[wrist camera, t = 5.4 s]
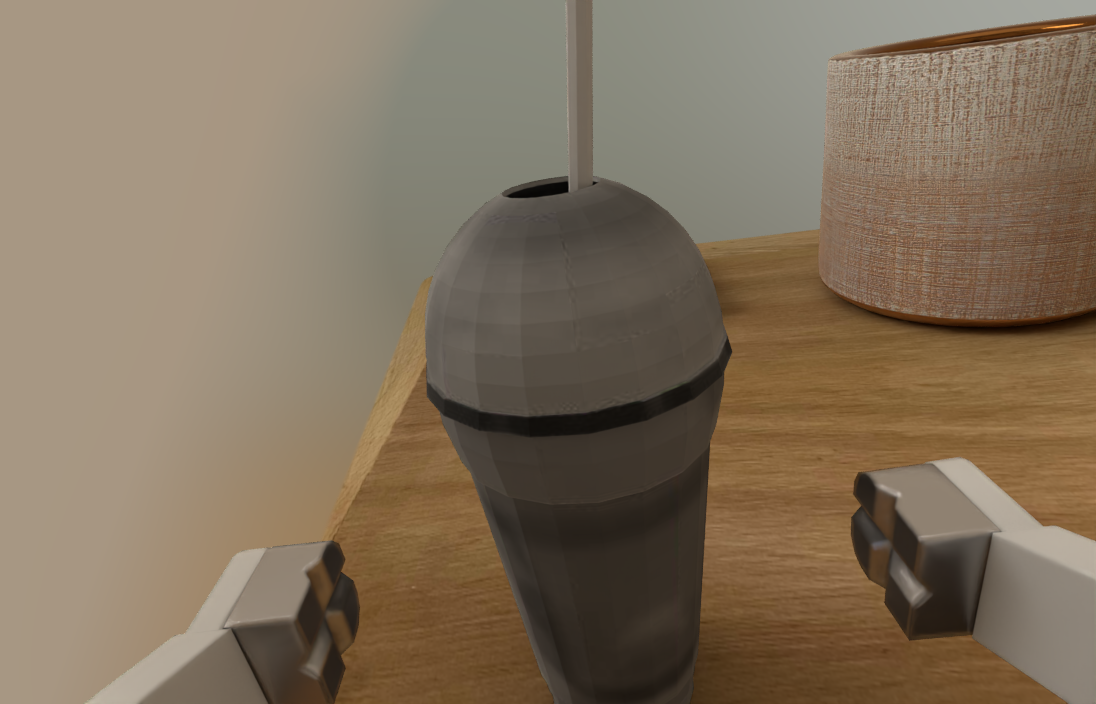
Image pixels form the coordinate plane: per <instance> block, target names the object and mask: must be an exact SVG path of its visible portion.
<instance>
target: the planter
mask: <svg viewBox="0 0 1096 704" xmlns="http://www.w3.org/2000/svg"><path fill="white" fill-rule="evenodd" d="M824 146H825V147H824V166H823V167H824V168H823V183H822V202H821V220H820V239H819V272H820V277H821V280H822V281H823V283H824V284H825V285H826V286H827V287H828V288H829V289H830V290H831V291H832V292H833V293H835V294H836V295H838V296H839V297H841V298H842V299H844V300H846V301H848V302H850V303H852V304H854V305H856V306H858V307H861V308H863V309H865V310H868V311H871V312H875V313H878V314H882V315H886V316H889V317H893V318H898V319H902V320H907V321H913V322H920V323H928V324H936V325H945V326H960V327H1010V326H1022V325H1033V324H1042V323H1048V322H1054V321H1058V320H1063V319H1067V318H1071V317H1075V316H1079V315H1082V314H1085V313H1088V312H1091V311H1094V310H1096V14H1095V15H1087V16H1079V17H1070V18H1062V19H1054V20H1046V21H1039V22H1031V23H1024V24H1016V25H1009V26H1002V27H995V28H987V29H981V30H973V31H966V32H960V33H953V34H946V35H940V36H933V37H927V38H921V39H914V40H908V41H902V42H897V43H890V44H885V45H879V46H874V47H868V48H863V49H858V50H854V51H849V52H845V53H841V54H838V55H835V56H833V57H831V58H830V59H829V61H828V76H827V101H826V124H825V145H824Z"/></svg>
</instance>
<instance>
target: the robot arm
mask: <svg viewBox="0 0 1096 704" xmlns="http://www.w3.org/2000/svg"><path fill="white" fill-rule="evenodd" d="M853 495H854V496H855V497H856V499H857V500H858V501H859V503H860V504H861V505H862V506H861V507H860V508H859V509H858V510H857V512H856V513H855V514H854V515H853V516H852V517H851V538H852V542H853V547H854V551H855V554H856V557H857V559H858V561H859V564H860V566H861V568H862V569H863V571H864V572H865V574H866V576H867V577H868V579H869V580H871V581H873V582H874V583H876V584H878V585H880V586H881V587H883V588H885V589H886V592H885V602H884V603H885V605H886V606H887V608H888V609H889V611H890V612H891V614H892V615H893V617H894V618H895V620H896V621H897V623H898V624H899V626H900V627H901V629H902V630H903V632H904V633H905V635H906V636H907V638H908V639H909V641H910V640H921V639H932V638H943V637H954V636H966V635H972V638H973V639H974V640H976V641H977V642H979V643H980V644H982V645H983V646H985V647H986V648H988V649H989V650H991V651H992V652H994V653H995V654H996V655H998V656H999V657H1001V658H1002V659H1004V660H1005V661H1007V662H1008V663H1010V664H1011V665H1013V666H1014V667H1016V668H1017V669H1019V670H1020V671H1022V672H1023V673H1025V674H1026V675H1027V676H1029V677H1030V678H1032V679H1033V680H1035V681H1036V682H1038V683H1039V684H1041V685H1042V686H1044V687H1045V688H1047V689H1048V690H1050V691H1051V692H1053V693H1054V694H1056V695H1057V696H1059V697H1060V698H1061V699H1063V700H1064V701H1066V702H1067V703H1069V704H1096V541H1094V540H1091V539H1089V538H1086V537H1083V536H1081V535H1078V534H1076V533H1073V532H1070V531H1068V530H1065V529H1063V528H1060V527H1057V526H1048V527H1043V526H1042V525H1041V524H1040V523H1039V522H1038V521H1037V520H1036V519H1034V518H1033V517H1032V516H1031V515H1030V514H1029V513H1028V512H1027V511H1025V510H1024V509H1023V508H1022V507H1021V506H1020V505H1019V504H1018V503H1016V502H1015V501H1014V500H1013V499H1012V498H1011V497H1010V496H1009V495H1007V494H1006V493H1005V492H1004V491H1003V490H1002V489H1001V488H1000V487H998V486H997V485H996V484H995V483H994V482H993V481H992V480H991V479H989V478H988V477H987V476H986V475H985V474H984V473H983V472H982V471H980V470H979V469H978V468H977V467H976V466H975V465H974V464H973V463H971V462H970V461H969V460H966V459H964V458H961V457H957V458H950V459H944V460H937V461H931V462H926V463H925V464H916V465H909V466H902V467H894V468H887V469H879V470H872V471H865V472H858V474H857V476H856V478H855V481H854V491H853ZM344 562H345V557H344V555H343V552H342V550H341V547H340V545H339V543H337V542H334V541H322V542H313V543H304V544H294V545H285V546H275V547H272V548H261V549H253V550H244V551H241V552H239V553H238V554H236V555H234V557H233V558H232V559H231V561H230V563H229V564H228V566H227V567H226V569H225V571H224V572H223V574H222V575H221V577H220V579H219V580H218V582H217V583H216V585H215V587H214V588H213V590H212V591H211V593H210V595H209V596H208V598H207V599H206V601H205V603H204V604H203V606H202V607H201V609H200V610H199V612H198V614H197V615H196V617H195V619H194V620H193V622H192V623H191V625H190V626H189V628H188V630H187V631H186V633H185V634H181V635H175V636H173V637H172V638H171V639H169V640H168V641H167V642H165V643H164V644H163V645H161V646H160V647H159V648H157V649H156V650H155V651H153V652H152V653H151V654H149V655H148V656H147V657H145V658H144V659H143V660H141V661H140V662H138V663H137V664H136V665H134V666H133V667H132V668H131V669H129V670H128V671H126V672H125V673H124V674H122V675H121V676H120V677H119V678H117V679H116V680H114V681H113V682H112V683H110V684H109V685H108V686H107V687H105V688H104V689H103V690H101V691H100V692H98V693H97V694H96V695H94V696H93V697H92V698H91V699H89V700H88V701H86V702H85V703H84V704H334V703H335V700H336V696H337V693H338V690H339V687H340V684H341V681H342V678H343V675H344V672H345V669H346V668H345V665H344V663H343V660H342V658H341V655H342V654H343V653H344V652H345V651H346V650H347V649H348V648H349V647H350V646H351V645H352V644H353V643H354V640H355V636H356V633H357V630H358V626H359V611H360V605H359V599H358V592H357V590H356V587H355V584H354V581H353V580H352V579H350V578H349V577H347V576H346V575H345V574H343V573H342V572H341V570H342V567H343V565H344Z"/></svg>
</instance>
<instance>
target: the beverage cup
mask: <svg viewBox="0 0 1096 704" xmlns="http://www.w3.org/2000/svg"><path fill="white" fill-rule="evenodd" d="M566 50H567V113H568V176H564V177H557V178H549V179H543V180H538V181H533V182H529V183H525V184H521V185H518V186H515V187H512V188H510V189H507V190H505V191H504V192H502V193H500V194H499V195H497V196H496V197H494V198H493V199H491V200H490V201H488V202H486V203H485V204H484V205H483V206H482V207H481V208H480V209H479V210H478V211H477V212H476V213H474V214H473V215H472V216H471V217H470V218H469V219H468V220H467V221H466V222H465V223H464V224H463V226H461V228H460V229H459V231H458V232H457V233H456V235H455V236H454V237H453V239H452V240H451V241H450V243H449V244H448V245H447V247H446V249H445V251H444V253H443V255H442V257H441V259H440V261H439V263H438V265H437V267H436V269H435V273H434V275H433V279H432V282H431V285H430V288H429V292H428V299H427V305H426V312H425V339H426V359H427V371H426V378H427V397H428V399H429V400H430V401H431V402H432V403H433V404H434V405H435V407H436V408H437V409H438V410H439V412H440V415H441V419H442V422H443V425H444V427H445V429H446V431H447V433H448V435H449V437H450V439H451V441H452V443H453V445H454V447H455V449H456V451H457V453H458V455H459V457H460V459H461V461H462V463H463V464H464V465H465V466H466V467H467V469H468V470H469V471H470V472H471V475H472V478H473V480H474V483H475V486H476V489H477V492H478V495H479V498H480V500H481V503H482V506H483V509H484V512H485V515H486V518H487V520H488V523H489V526H490V529H491V532H492V535H493V538H494V540H495V543H496V546H497V549H498V552H499V555H500V558H501V560H502V563H503V566H504V569H505V572H506V575H507V578H508V580H509V583H510V586H511V589H512V592H513V595H514V598H515V600H516V603H517V606H518V609H519V612H520V615H521V618H522V620H523V623H524V626H525V629H526V632H527V635H528V638H529V640H530V643H531V646H532V649H533V652H534V655H535V658H536V660H537V663H538V666H539V669H540V672H541V675H542V676H543V678H544V679H545V681H546V682H547V685H548V687H549V690H550V692H551V693H552V695H553V699H554V704H690V700H691V696H692V693H693V689H694V687H693V675H694V670H695V663H696V659H697V655H698V645H699V627H700V610H701V592H702V575H703V557H704V540H705V522H706V505H707V487H708V470H709V452H710V440H711V437H712V434H713V432H714V429H715V427H716V423H717V418H718V412H719V407H720V402H721V397H722V391H723V386H724V371H725V368H726V366H727V363H728V361H729V359H730V356H731V354H732V349H731V346H730V343H729V340H728V336H727V333H726V330H725V328H724V325H723V320H722V311H721V308H720V304H719V301H718V297H717V293H716V290H715V286H714V284H713V281H712V278H711V275H710V272H709V270H708V268H707V266H706V264H705V261H704V259H703V257H702V255H701V253H700V251H699V249H698V247H697V246H696V244H695V243H694V242H693V240H692V239H691V237H690V236H689V234H688V233H687V231H686V230H685V229H684V228H683V227H682V226H681V225H680V224H679V222H678V221H677V220H676V219H674V217H673V216H672V215H671V214H670V213H669V212H668V211H666V210H665V209H664V208H662V207H661V206H660V205H658V204H657V203H656V202H654V201H653V200H651V199H650V198H649V197H647V196H645V195H643V194H641V193H639V192H637V191H635V190H633V189H631V188H629V187H627V186H625V185H623V184H620V183H618V182H614V181H611V180H608V179H604V178H600V177H597V176H593V151H592V150H593V145H592V144H593V140H592V139H593V127H592V125H593V120H592V119H593V117H592V116H593V112H592V111H593V110H592V107H593V106H592V104H593V103H592V101H593V100H592V98H593V96H592V0H566Z"/></svg>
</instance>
